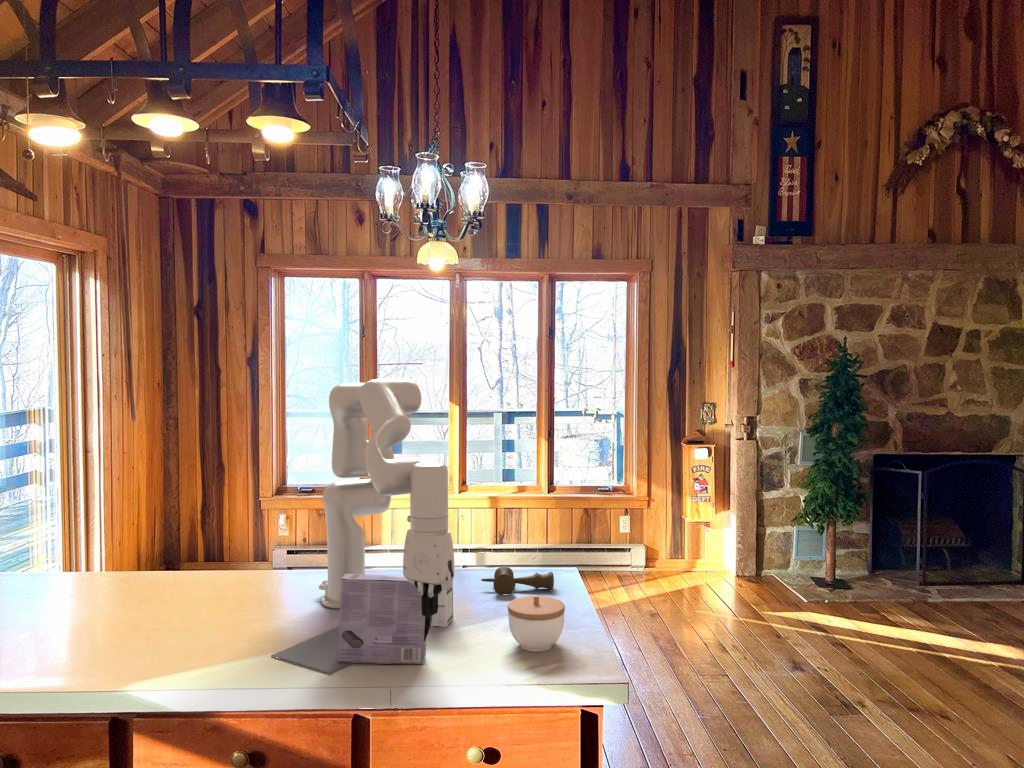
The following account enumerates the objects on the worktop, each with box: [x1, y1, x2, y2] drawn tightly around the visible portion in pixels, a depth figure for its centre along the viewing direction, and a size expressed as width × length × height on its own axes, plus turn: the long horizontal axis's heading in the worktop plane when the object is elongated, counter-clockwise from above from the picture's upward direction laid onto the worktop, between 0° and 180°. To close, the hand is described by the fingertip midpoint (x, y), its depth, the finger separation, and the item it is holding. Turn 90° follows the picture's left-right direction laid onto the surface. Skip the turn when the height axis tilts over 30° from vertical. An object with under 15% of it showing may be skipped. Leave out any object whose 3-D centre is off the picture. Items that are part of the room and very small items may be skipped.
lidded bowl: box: [507, 594, 566, 652], centre depth 166 cm, size 13×13×11 cm
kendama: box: [480, 566, 555, 596], centre depth 206 cm, size 6×10×20 cm
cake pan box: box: [337, 573, 432, 665], centre depth 158 cm, size 19×5×18 cm, turn 91°
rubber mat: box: [271, 625, 355, 675], centre depth 165 cm, size 17×22×1 cm
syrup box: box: [430, 578, 454, 628], centre depth 180 cm, size 6×6×14 cm
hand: (429, 614), depth 151 cm, fingers closed
